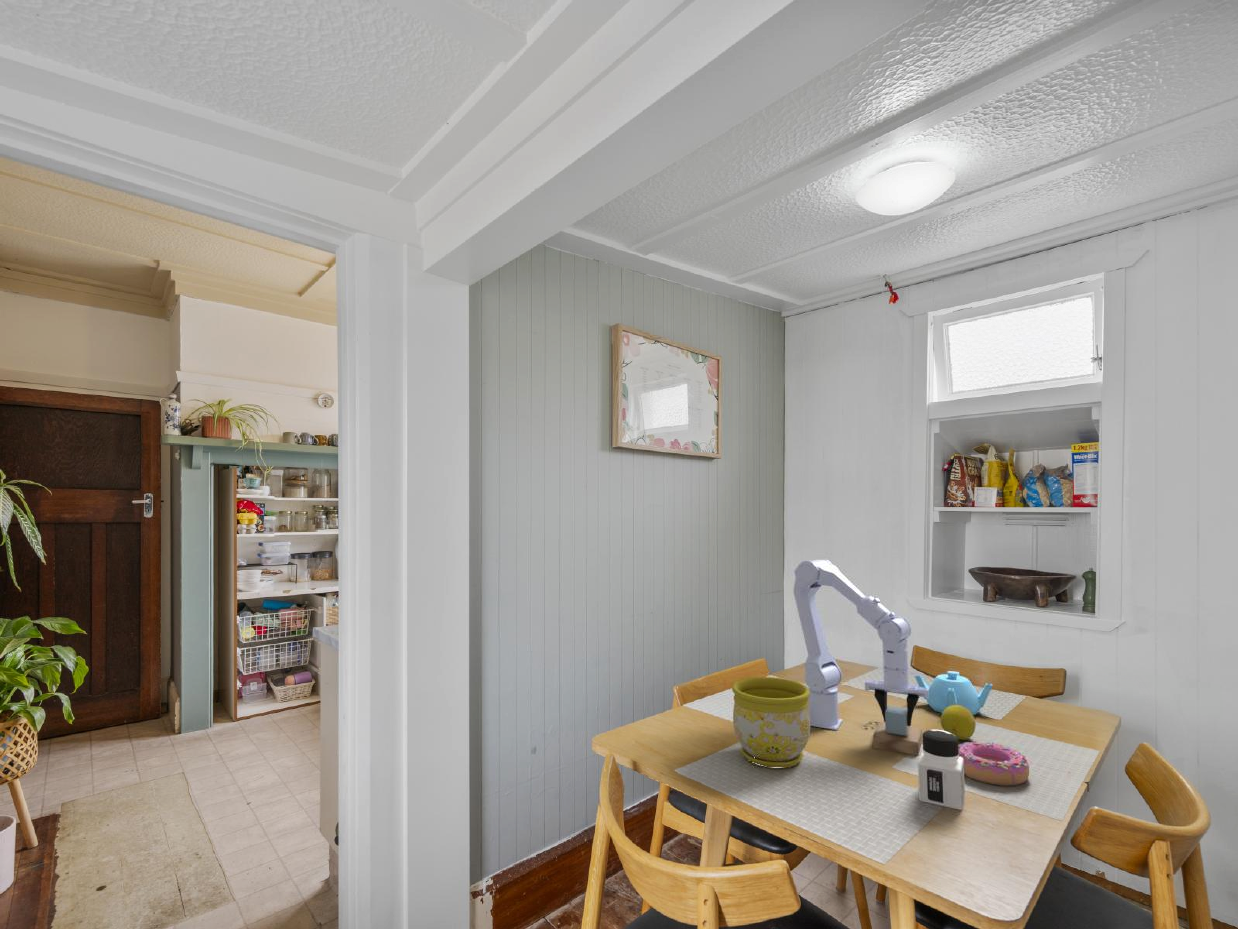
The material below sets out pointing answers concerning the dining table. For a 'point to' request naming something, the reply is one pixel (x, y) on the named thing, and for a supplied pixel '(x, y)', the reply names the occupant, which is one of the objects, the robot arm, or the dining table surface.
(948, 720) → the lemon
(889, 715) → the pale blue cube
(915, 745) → the walnut block
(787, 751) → the flowerpot
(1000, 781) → the donut
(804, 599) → the robot arm
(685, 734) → the dining table surface
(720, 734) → the dining table surface
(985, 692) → the teapot
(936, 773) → the container
